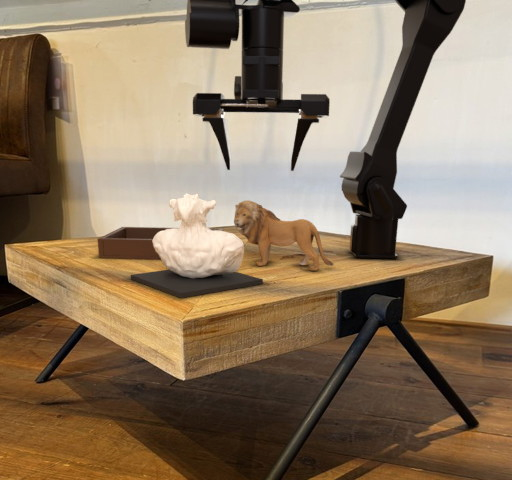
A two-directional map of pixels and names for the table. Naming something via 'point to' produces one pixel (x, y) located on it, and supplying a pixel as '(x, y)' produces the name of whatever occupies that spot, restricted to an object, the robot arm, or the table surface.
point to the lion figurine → (277, 233)
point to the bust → (197, 242)
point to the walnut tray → (130, 243)
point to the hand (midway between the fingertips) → (260, 170)
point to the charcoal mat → (194, 282)
